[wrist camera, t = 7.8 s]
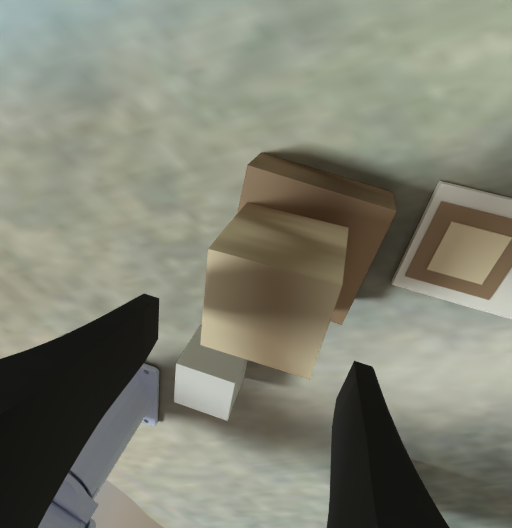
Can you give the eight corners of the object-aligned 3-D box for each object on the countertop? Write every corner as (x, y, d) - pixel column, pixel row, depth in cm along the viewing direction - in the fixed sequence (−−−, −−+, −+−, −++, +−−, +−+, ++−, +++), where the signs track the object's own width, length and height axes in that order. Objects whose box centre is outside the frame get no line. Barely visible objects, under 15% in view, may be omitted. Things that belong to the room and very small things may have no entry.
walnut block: (238, 258, 22) (223, 283, 20) (263, 150, 19) (247, 165, 16) (344, 294, 22) (341, 325, 19) (392, 189, 18) (396, 211, 15)
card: (391, 281, 20) (392, 286, 19) (439, 180, 17) (441, 184, 16) (540, 323, 19) (545, 330, 18) (621, 225, 16) (630, 230, 15)
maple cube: (235, 284, 20) (200, 344, 16) (246, 202, 17) (208, 248, 13) (322, 309, 19) (310, 379, 15) (348, 227, 16) (342, 285, 12)
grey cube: (196, 361, 28) (173, 402, 25) (200, 324, 26) (176, 363, 22) (244, 376, 27) (227, 421, 24) (252, 340, 25) (234, 383, 22)
